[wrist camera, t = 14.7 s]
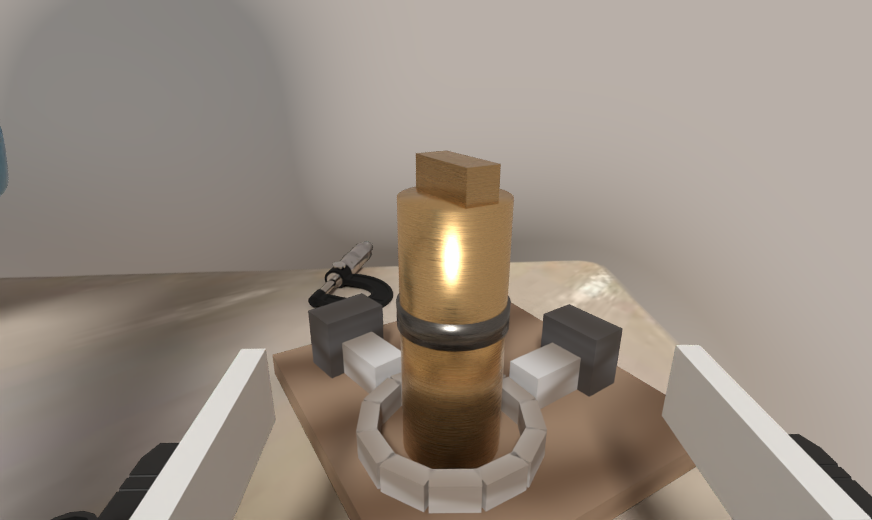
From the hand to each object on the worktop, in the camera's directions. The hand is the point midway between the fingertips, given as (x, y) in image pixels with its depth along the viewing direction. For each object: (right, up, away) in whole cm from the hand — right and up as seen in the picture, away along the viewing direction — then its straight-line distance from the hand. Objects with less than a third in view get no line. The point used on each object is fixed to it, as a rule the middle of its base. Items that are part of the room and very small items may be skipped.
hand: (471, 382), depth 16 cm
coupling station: (+1, -5, +15) cm, 16 cm away
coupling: (0, -5, +10) cm, 11 cm away
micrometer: (-8, +2, +33) cm, 34 cm away
